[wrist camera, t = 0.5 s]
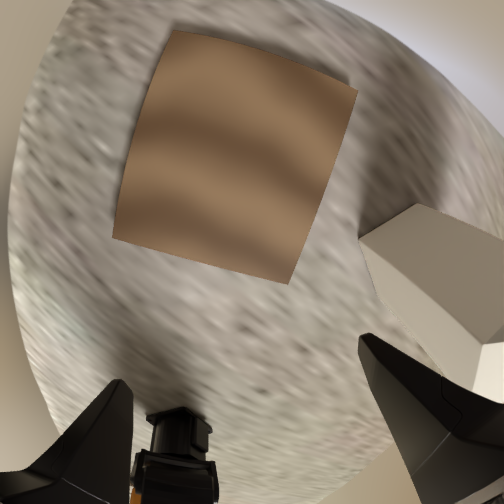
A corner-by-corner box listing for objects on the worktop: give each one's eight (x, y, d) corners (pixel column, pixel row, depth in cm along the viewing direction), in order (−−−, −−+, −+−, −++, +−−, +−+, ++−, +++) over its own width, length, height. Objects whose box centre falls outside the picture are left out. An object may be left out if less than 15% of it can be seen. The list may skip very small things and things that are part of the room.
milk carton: (377, 297, 25) (495, 445, 7) (356, 238, 22) (531, 398, 4) (429, 262, 24) (560, 371, 6) (416, 201, 21) (593, 296, 4)
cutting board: (284, 276, 23) (287, 284, 21) (118, 231, 20) (112, 237, 18) (349, 93, 18) (358, 90, 16) (176, 37, 15) (173, 30, 13)
